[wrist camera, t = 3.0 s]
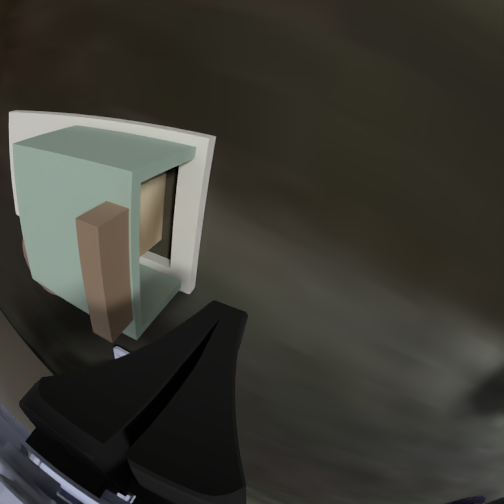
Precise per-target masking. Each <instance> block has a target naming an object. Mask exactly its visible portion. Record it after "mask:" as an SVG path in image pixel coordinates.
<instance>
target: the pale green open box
mask: <svg viewBox="0 0 504 504" xmlns="http://www.w3.org/2000/svg"><path fill="white" fill-rule="evenodd" d="M195 152H196V147H194V146H190V145H186V144H181V143H176V142H172V141H167V140H162V139H157V138H152V137H147V136H141V135H136V134H130V133H125V132H119V131H113V130H106V129H100V128H93V127H86V126H79V125H75V126H71V127H67V128H63V129H59V130H56V131H52V132H48V133H45V134H41V135H38V136H35V137H31V138H28V139H25V140H22V141H19V142H16V143H13V163H14V175H15V185H16V194H17V202H18V209H19V216H20V222H21V228H22V233H23V238H24V243H25V248H26V253H27V257H28V262H29V266H30V270H31V274H32V278H33V279H34V280H36V281H37V282H39V283H40V284H42V285H43V286H45V287H46V288H48V289H49V290H51V291H52V292H54V293H55V294H57V295H58V296H60V297H62V298H63V299H65V300H66V301H68V302H70V303H71V304H73V305H74V306H76V307H78V308H79V309H81V310H83V311H84V312H86V313H88V314H89V315H90V319H91V324H92V328H93V332H94V333H96V334H98V335H99V336H101V337H103V338H104V339H106V340H108V341H110V342H112V343H113V342H114V341H115V340H116V339H117V337H118V336H119V335H120V334H121V333H124V334H126V335H127V336H129V337H131V338H133V339H135V340H137V339H138V338H139V337H140V336H141V335H142V333H143V332H144V331H145V330H146V329H147V327H148V326H149V325H150V324H151V323H152V322H153V320H154V319H155V318H156V317H157V316H158V314H159V313H160V312H161V311H162V310H163V309H164V307H165V306H166V305H167V304H168V303H169V302H170V300H171V299H172V298H173V297H174V296H175V295H176V293H177V292H178V291H179V290H180V289H181V281H180V280H178V279H175V278H173V277H170V276H168V275H165V274H163V273H161V272H158V271H156V270H153V269H151V268H148V267H146V266H144V265H141V264H139V227H140V195H141V182H143V181H145V180H147V179H150V178H152V177H154V176H156V175H158V174H160V173H162V172H165V171H167V170H169V169H171V168H173V167H176V166H178V165H180V164H182V163H185V162H187V161H189V160H192V159H194V158H195Z"/></svg>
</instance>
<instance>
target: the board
mask: <svg viewBox="0 0 504 504" xmlns="http://www.w3.org/2000/svg"><path fill="white" fill-rule="evenodd" d="M75 125H79V126H86V127H93V128H100V129H106V130H113V131H119V132H125V133H130V134H136V135H141V136H147V137H152V138H157V139H162V140H167V141H172V142H176V143H181V144H186V145H190V146H194V147H196V152H195V158H194V159H192V160H189V161H187V162H185V163H182V164H180V165H179V171H178V180H177V189H176V199H175V210H174V222H173V234H172V248H171V260H170V259H168V258H165V257H162V256H160V255H157V254H155V253H152V252H150V251H147V252H146V253H144V254H143V255H142V256H141V257H140V258H139V264H141V265H144V266H146V267H148V268H151V269H153V270H156V271H158V272H161V273H163V274H165V275H168V276H170V277H173V278H175V279H178V280H180V281H181V289H180V291H182V292H185V293H187V294H190V293H191V292H192V291H193V289H194V288H195V281H196V272H197V264H198V255H199V247H200V239H201V232H202V224H203V217H204V210H205V203H206V196H207V189H208V182H209V176H210V169H211V163H212V157H213V151H214V145H215V139H216V136H211V135H207V134H202V133H197V132H192V131H188V130H182V129H177V128H172V127H166V126H161V125H155V124H149V123H143V122H136V121H130V120H123V119H115V118H108V117H99V116H90V115H81V114H70V113H58V112H43V111H20V110H16V111H12V112H9V146H10V164H11V176H12V186H13V194H14V202H15V209H16V214H17V215H19V209H18V202H17V194H16V185H15V175H14V163H13V143H16V142H19V141H22V140H25V139H28V138H31V137H35V136H38V135H41V134H45V133H48V132H52V131H56V130H59V129H63V128H67V127H71V126H75Z"/></svg>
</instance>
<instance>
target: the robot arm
mask: <svg viewBox="0 0 504 504" xmlns="http://www.w3.org/2000/svg"><path fill="white" fill-rule="evenodd" d="M247 318H248V315H247V313H246V312H244V311H241V310H239V309H236V308H233V307H231V306H228V305H226V304H223V303H220V302H218V301H215V300H214V301H211V302H210V303H209V304H208V305H206V306H205V307H204V308H203V309H201V310H200V311H199V312H197V313H196V314H195V315H193V316H192V317H191V318H189V319H188V320H186V321H185V322H183V323H182V324H180V325H179V326H177V327H176V328H174V329H173V330H171V331H170V332H168V333H166V334H165V335H163V336H161V337H160V338H158V339H156V340H154V341H153V342H151V343H149V344H147V345H145V346H143V347H141V348H139V349H137V350H135V351H133V352H131V353H129V352H127V351H126V350H124V349H122V348H120V347H118V346H115V347H114V349H113V350H114V355H115V359H114V360H111V361H109V362H106V363H103V364H100V365H97V366H93V367H90V368H86V369H82V370H79V371H75V372H71V373H65V374H60V375H54V376H48V377H42V378H41V379H40V380H39V381H38V382H37V383H35V384H34V386H33V387H32V388H31V389H30V390H29V391H28V392H27V394H26V395H25V396H24V397H23V398H22V399H21V400H20V402H19V406H20V407H21V409H22V410H23V412H24V413H25V414H26V416H27V417H28V418H29V419H30V421H31V422H32V423H33V424H34V425H35V427H36V429H35V430H34V431H33V432H32V433H30V432H29V431H28V430H27V429H26V428H25V427H24V426H22V425H21V424H20V423H19V422H18V421H17V420H16V419H15V418H14V417H13V416H12V415H11V414H10V413H9V412H8V411H7V410H6V409H5V408H4V407H3V406H2V405H1V404H0V504H246V482H245V478H244V473H243V468H242V463H241V457H240V451H239V445H238V435H237V426H236V413H235V374H236V361H237V353H238V350H239V347H240V344H241V340H242V336H243V333H244V329H245V325H246V321H247ZM27 449H28V450H29V451H30V452H31V456H30V458H29V457H28V450H27Z"/></svg>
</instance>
